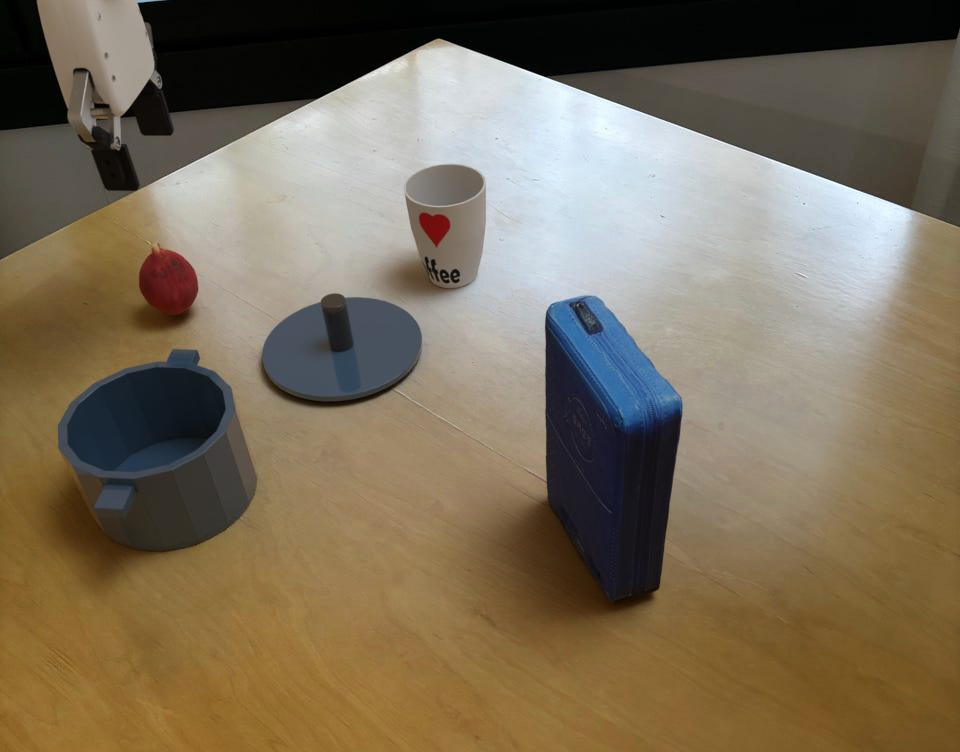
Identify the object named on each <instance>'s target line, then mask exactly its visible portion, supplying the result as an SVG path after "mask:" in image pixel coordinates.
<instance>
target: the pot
mask: <svg viewBox="0 0 960 752" xmlns="http://www.w3.org/2000/svg"><path fill="white" fill-rule="evenodd" d="M200 360H201V357H200V354H199V351H198V349H187V348H186V349H183V348H171V350H170V353H169V355H168V357H167V359H166V361H161V360H160V361H152V362H148V363H144V364H139V365H134V366H129V367H125V368H123V369H121V370H118V371H117V372H114V373H112V374H109V375H107V376H106V377H104V378H102V379H99V380H97V381H95V382H93V383H92V384H90V386H89V387H87V388H86V389H84V391H82V392H81V393H80V394H79V395H78V396H77V397H75V398H74V399H73V400H72V401H71V402H70V403H69V404H68V406H67V408H66V410H65V411H64V413H63V415H62V416H61V418H60V420H59V422H58V424H57V449H58V450H59V453H60V454H61V457H62V458H63V461H64V463H65V464H66V467H67V469H68V470H69V473H70V475H71V476H72V479H73V480H74V483H75V484H76V487H77V489H78V491H79V493H80V494H81V497H82V499H83V501H84V502H85V505H86V507H87V509H88V511H89V512H90V515H91V517H92V518H93V520H94V522H96V524H97V525H98V527H99V528H100V530H101V531H102V532H103V534H105V535H106V536H107V537H108V538H109V539H110V540H112V541H113V542H116V543H117V544H119V545H121V546H124V547H127V548H130V549H133V550H138V551H146V552H164V551H174V550H179V549H184V548H187V547H192V546H194V545H198V544H200V543H203V542H205V541H207V540H210V539H211V538H214V537H215V536H217V535H218V534H220V533H222V532H224V531H225V530H227V529H228V528H229V527H230V526H232V525H233V524H234V523H235V522H236V521H237V520H238V519H240V517H241V516H242V515H243V514H244V513H245V512H246V510H247V509H248V507H250V504H251V503H252V500H253V499H254V497H255V495H256V494H255V493H256V490H257V487H258V472H257V469H256V465H255V460H254V456H253V452H252V450H251V446H250V443H249V440H248V437H247V433H246V430H245V427H244V424H243V421H242V418H241V414H240V411H239V408H238V404H237V401H236V398H235V394H234V392H233V389H232V387H231V386H230V384H228V383H227V382H226V381H225V380H224V379H223V378H222V377H221V376H220V375H219V373H217V372H216V371H215V370H212V369H210V368H206V367H203V366H201V365H198V364H199V362H200Z"/></svg>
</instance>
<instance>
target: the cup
mask: <svg viewBox="0 0 960 752" xmlns="http://www.w3.org/2000/svg"><path fill="white" fill-rule="evenodd" d="M403 192H404V197H405V198H404V199H405V203H406V208H407V213H408V218H409V224H410V225H409V226H410V229H411V233H412V236H413V239H414V242H415V246H416V249H417V252H418V256H419V258H420V261H421V264H422V265H423V267H424V269H425V271H426V274H427V275H428V278H429V279H430V281H431V283H432V284H433V285H435V286H438V287H440V288H442V289H443V288H444V289H459V288H462V287H465V286H468V285H470V284H471V283H473V282H474V281H475V279H476V278H477V276H478V271H479V268H480V264H481V260H482V257H483V253H484V242H485V234H486V224H487V180H486V177H485V175H484V174H483V173H482V172H481V171H480V170H479V169H477V168H474V167H472V166H470V165H465V164H462V163H461V164H460V163H441V164H434V165H430V166H427V167H424V168H422V169H419V170H418V171H416V172H414V173H413V174H411V175H410V176H409V177H407V179H406V180H405V182H404V184H403Z"/></svg>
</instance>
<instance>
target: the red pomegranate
mask: <svg viewBox="0 0 960 752" xmlns="http://www.w3.org/2000/svg"><path fill="white" fill-rule="evenodd" d="M150 249H151V253H150V254H149V255H147V257H146V258H145V259H144V261H143V263H142V264H141V266H140V268H139V272H138V273H139V274H138V287H139V291H140V293H141V295H142V296H143V298H144V299H145V301H146V302H147V303H148V304H149V306H151V307H152V308H153V309H154V310H157V311H159V312H161V313H163V314H167V315H172V316H180V315H182V314H183V313H184V312H185V311H187V310H188V309H189V308H191V306H192V305H194V302H195V300H196V298H197V296H198V293H199V280H198V276H197V273H196V270H195V268H194V267H193V266H192V264H191V263H190V262H189V261H188V260H187V259H186V258H185V257H184V256H183V255H181V254H180V253H178V252H176V251H174V250H170V249H167V248H163V247H161V245H160V243H158V242H152V244H151V247H150Z"/></svg>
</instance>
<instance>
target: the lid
mask: <svg viewBox="0 0 960 752" xmlns="http://www.w3.org/2000/svg"><path fill="white" fill-rule="evenodd" d="M422 349H423V334H422V330H421V328H420V325H419V323H418V321H417V320H416V319H415V318H414V317H413V315H411V314H410V313H409V312H408V311H407V310H406V309H404V308H402V307H401V306H398V305H396V304H394V303H392V302H389V301H386V300H384V299H383V300H382V299H378V298H372V297H361V296H353V297H352V296H348V297H345V296H344V295H343V294H341V293H338V292H337V293H336V292H335V293H329V294H326V295H324V296H322V298H321V299H320V301H319V302H316V303H313V304H310V305H307V306H304V307H303V308H301V309H298V310H296V311H294V312H293V313H291V314H289V315H288V316H287V317H285V318H284V319H283V320H281V321H280V322H278V323H277V324H276V326H275V327H273V329H271V331H270V333H269V334H268V335H267V337H266V339H265V341H264V343H263V347H262V352H261V361H262V366H263V368H264V371H265V374H266V375H267V377H268V378H269V380H270V381H271V382H272V383H273V384H274V385H275V386H276V387H277V388H279V389H280V390H281V391H284V392H285V393H288V394H290V395H292V396H295V397H297V398H301V399H304V400H310V401H314V402H315V401H317V402H341V401H342V402H344V401H350V400H356V399H360V398H364V397H368V396H371V395H373V394H376V393H379V392H381V391H383V390H386V389H387V388H389V387H391V386H392V385H395V384H396V383H397V382H399V381H400V380H401V379H403V378H404V377H405V376H407V374H408V373H410V371H411V370H412V369H413V368H414V366H415V365H416V364H417V362H418V360H419V359H420V356H421V354H422Z"/></svg>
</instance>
